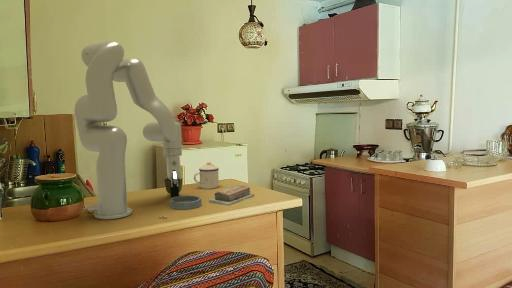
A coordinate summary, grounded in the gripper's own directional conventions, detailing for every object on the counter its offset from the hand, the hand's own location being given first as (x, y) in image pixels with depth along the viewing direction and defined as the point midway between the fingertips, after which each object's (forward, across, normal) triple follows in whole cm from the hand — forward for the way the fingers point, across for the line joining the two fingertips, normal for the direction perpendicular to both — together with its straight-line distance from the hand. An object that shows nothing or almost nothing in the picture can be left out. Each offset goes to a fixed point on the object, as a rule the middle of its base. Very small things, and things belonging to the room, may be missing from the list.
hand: (174, 193), depth 165 cm
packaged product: (+2, -11, -22) cm, 25 cm away
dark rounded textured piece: (+2, 0, 0) cm, 2 cm away
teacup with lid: (+2, +14, -16) cm, 22 cm away
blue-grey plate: (+1, -15, -3) cm, 15 cm away
